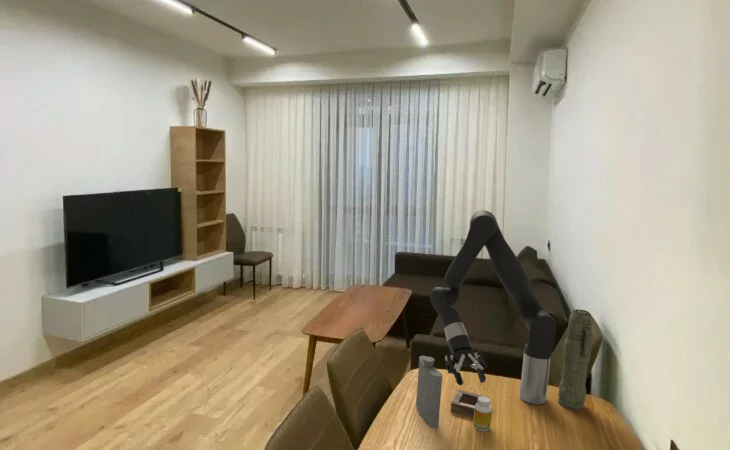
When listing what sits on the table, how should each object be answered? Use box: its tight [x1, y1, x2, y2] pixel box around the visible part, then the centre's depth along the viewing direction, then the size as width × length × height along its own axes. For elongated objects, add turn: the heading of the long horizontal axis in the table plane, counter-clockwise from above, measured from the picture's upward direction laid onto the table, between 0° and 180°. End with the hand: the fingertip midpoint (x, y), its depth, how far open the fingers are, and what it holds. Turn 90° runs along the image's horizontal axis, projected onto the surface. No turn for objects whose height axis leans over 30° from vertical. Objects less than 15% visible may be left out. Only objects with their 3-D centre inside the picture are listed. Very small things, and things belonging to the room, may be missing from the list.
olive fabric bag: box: [557, 309, 593, 411], centre depth 167 cm, size 9×12×35 cm
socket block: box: [450, 389, 490, 418], centre depth 162 cm, size 11×11×3 cm
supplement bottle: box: [472, 395, 493, 432], centre depth 150 cm, size 5×5×10 cm
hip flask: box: [415, 355, 443, 429], centre depth 155 cm, size 16×4×20 cm, turn 12°
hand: (472, 383), depth 156 cm, fingers open, 8 cm apart
